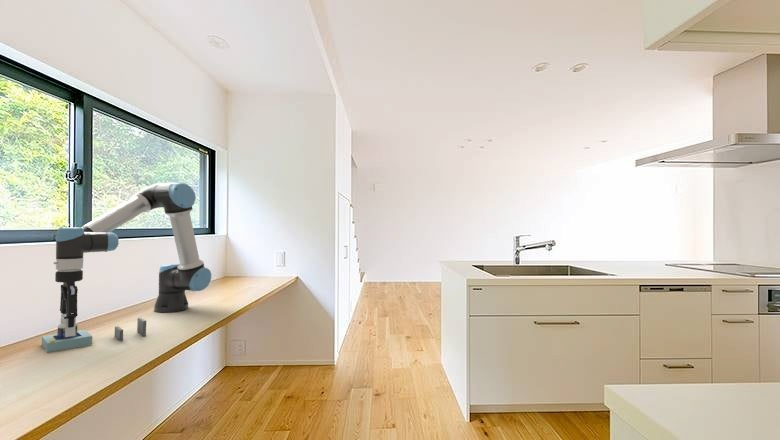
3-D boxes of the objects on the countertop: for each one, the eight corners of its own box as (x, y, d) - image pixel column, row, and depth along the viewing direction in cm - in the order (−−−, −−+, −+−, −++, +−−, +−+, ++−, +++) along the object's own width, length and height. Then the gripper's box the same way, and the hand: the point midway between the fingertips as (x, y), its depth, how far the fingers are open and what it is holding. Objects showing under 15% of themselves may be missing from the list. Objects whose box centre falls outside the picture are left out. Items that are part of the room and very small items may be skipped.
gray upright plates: (139, 332, 150) (140, 317, 150) (145, 336, 146) (146, 320, 146) (114, 337, 144) (114, 321, 144) (119, 341, 139) (120, 324, 139)
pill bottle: (61, 347, 131) (62, 319, 131) (53, 345, 133) (54, 317, 133) (80, 343, 136) (80, 316, 136) (71, 341, 138) (72, 314, 138)
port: (84, 337, 143) (84, 327, 143) (92, 344, 135) (92, 334, 135) (41, 344, 134) (42, 334, 134) (47, 352, 126) (47, 341, 126)
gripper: (50, 268, 138) (49, 330, 138) (61, 274, 125) (59, 342, 125) (76, 266, 144) (75, 326, 144) (89, 272, 131) (87, 337, 131)
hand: (67, 333), depth 135 cm, fingers open, 7 cm apart
